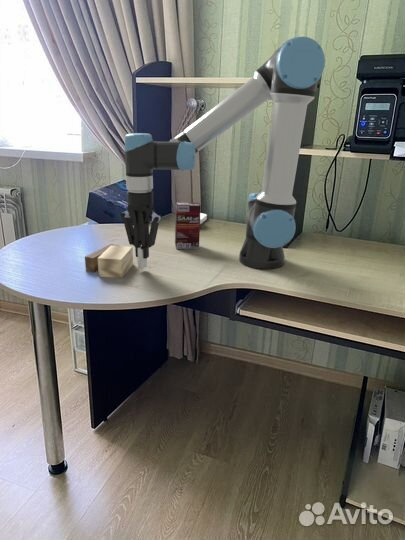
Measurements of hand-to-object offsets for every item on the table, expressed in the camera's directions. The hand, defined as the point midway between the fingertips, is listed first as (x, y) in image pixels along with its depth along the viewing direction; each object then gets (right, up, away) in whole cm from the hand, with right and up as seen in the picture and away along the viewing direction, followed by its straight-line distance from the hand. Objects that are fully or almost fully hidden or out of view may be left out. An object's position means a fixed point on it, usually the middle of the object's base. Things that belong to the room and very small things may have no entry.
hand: (142, 267), depth 128 cm
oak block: (-8, -1, +1) cm, 8 cm away
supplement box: (+13, +7, +24) cm, 28 cm away
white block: (+14, +20, +56) cm, 61 cm away
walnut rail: (-13, +1, +5) cm, 14 cm away
